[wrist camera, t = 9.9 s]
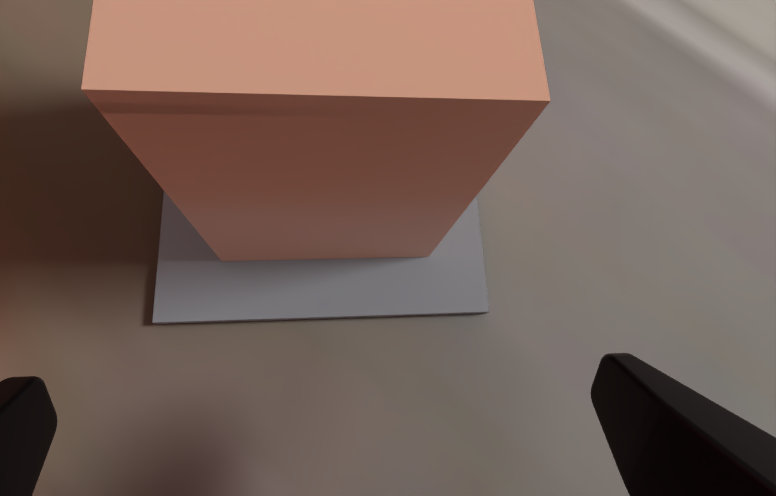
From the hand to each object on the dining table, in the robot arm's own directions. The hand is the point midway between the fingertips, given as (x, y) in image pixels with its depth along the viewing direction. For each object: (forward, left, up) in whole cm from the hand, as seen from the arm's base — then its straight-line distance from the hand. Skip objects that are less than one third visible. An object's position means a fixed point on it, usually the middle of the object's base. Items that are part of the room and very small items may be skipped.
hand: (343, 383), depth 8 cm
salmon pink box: (+7, -4, -8) cm, 11 cm away
